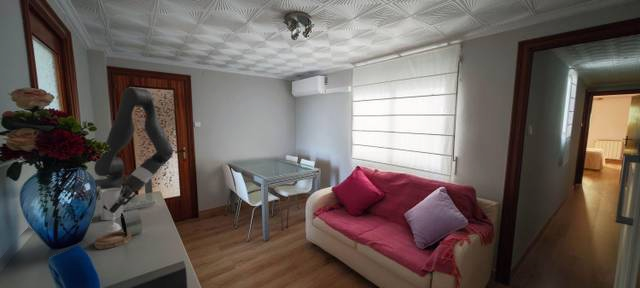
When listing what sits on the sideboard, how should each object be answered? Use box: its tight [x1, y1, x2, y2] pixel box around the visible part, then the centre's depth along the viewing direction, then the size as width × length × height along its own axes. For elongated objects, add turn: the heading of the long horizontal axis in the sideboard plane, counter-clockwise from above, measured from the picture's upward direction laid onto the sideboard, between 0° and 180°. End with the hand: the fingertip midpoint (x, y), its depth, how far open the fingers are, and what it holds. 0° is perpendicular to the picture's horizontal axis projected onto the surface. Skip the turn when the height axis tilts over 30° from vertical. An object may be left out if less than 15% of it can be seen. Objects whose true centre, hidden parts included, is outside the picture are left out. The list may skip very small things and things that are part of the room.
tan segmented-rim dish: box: [93, 230, 132, 250], centre depth 105 cm, size 12×12×2 cm
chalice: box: [101, 188, 122, 233], centre depth 104 cm, size 7×7×18 cm
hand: (107, 210), depth 102 cm, fingers closed on chalice, 6 cm apart
